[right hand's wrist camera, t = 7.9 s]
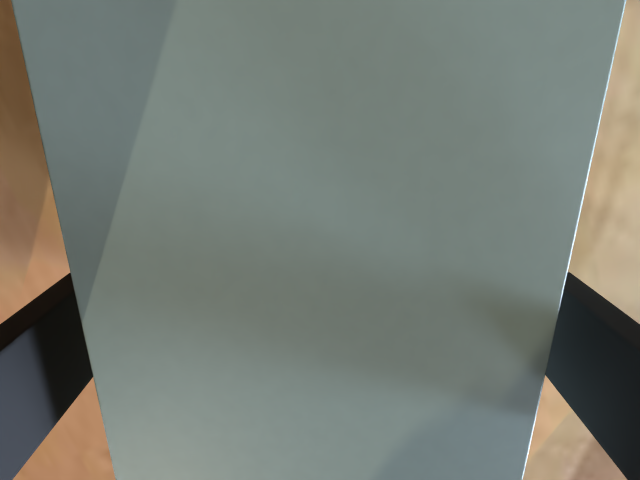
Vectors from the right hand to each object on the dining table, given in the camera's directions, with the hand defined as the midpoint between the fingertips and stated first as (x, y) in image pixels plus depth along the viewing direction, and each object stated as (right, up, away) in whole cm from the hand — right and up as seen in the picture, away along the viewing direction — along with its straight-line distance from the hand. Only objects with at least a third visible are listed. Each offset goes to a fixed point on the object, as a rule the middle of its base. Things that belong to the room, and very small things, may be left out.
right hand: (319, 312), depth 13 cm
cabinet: (0, +8, +6) cm, 10 cm away
